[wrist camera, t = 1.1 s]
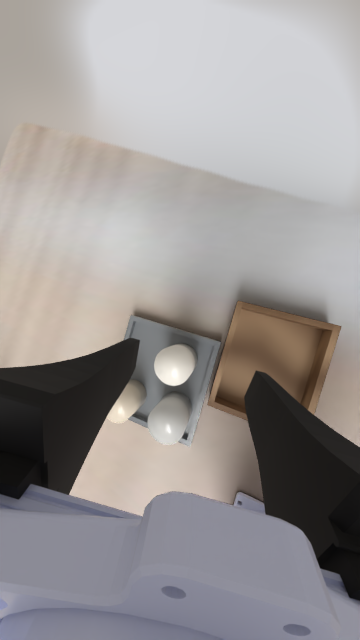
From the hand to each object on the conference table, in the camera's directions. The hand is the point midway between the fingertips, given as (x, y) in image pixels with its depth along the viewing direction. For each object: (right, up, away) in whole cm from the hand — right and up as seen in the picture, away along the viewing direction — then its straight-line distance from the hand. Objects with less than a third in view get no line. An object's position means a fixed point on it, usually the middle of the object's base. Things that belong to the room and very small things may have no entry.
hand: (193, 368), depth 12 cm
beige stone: (-7, -7, +14) cm, 17 cm away
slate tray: (-3, -4, +14) cm, 15 cm away
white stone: (-1, -2, +13) cm, 13 cm away
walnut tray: (+9, -2, +11) cm, 14 cm away
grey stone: (-1, -8, +12) cm, 15 cm away
